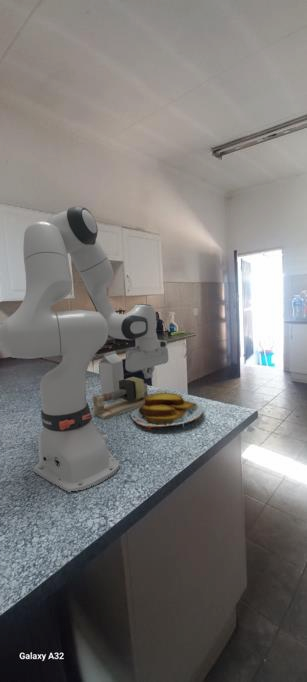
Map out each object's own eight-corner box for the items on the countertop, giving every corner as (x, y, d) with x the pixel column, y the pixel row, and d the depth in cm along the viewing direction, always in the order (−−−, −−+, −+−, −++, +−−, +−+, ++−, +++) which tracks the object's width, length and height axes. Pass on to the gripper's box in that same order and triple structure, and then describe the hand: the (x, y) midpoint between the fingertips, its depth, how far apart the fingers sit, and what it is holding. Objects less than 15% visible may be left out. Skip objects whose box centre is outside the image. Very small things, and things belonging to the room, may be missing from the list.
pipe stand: (151, 402, 116) (150, 384, 114) (103, 420, 102) (101, 399, 100) (138, 397, 122) (136, 380, 121) (90, 413, 108) (89, 394, 107)
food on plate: (153, 442, 85) (152, 421, 84) (119, 415, 106) (117, 397, 105) (220, 419, 97) (219, 400, 96) (177, 399, 119) (176, 383, 118)
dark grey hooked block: (134, 399, 111) (133, 382, 110) (129, 401, 110) (128, 383, 109) (125, 396, 116) (123, 379, 115) (120, 397, 115) (118, 380, 114)
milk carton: (125, 394, 127) (121, 351, 124) (114, 399, 121) (111, 354, 119) (112, 392, 131) (109, 350, 128) (101, 397, 125) (97, 353, 122)
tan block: (144, 396, 115) (143, 379, 113) (136, 399, 112) (135, 381, 111) (134, 393, 119) (133, 376, 118) (126, 395, 117) (125, 378, 116)
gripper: (130, 349, 109) (132, 385, 111) (170, 341, 122) (171, 373, 124) (120, 347, 113) (123, 382, 115) (159, 340, 126) (161, 371, 129)
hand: (148, 377), depth 120 cm, fingers closed
